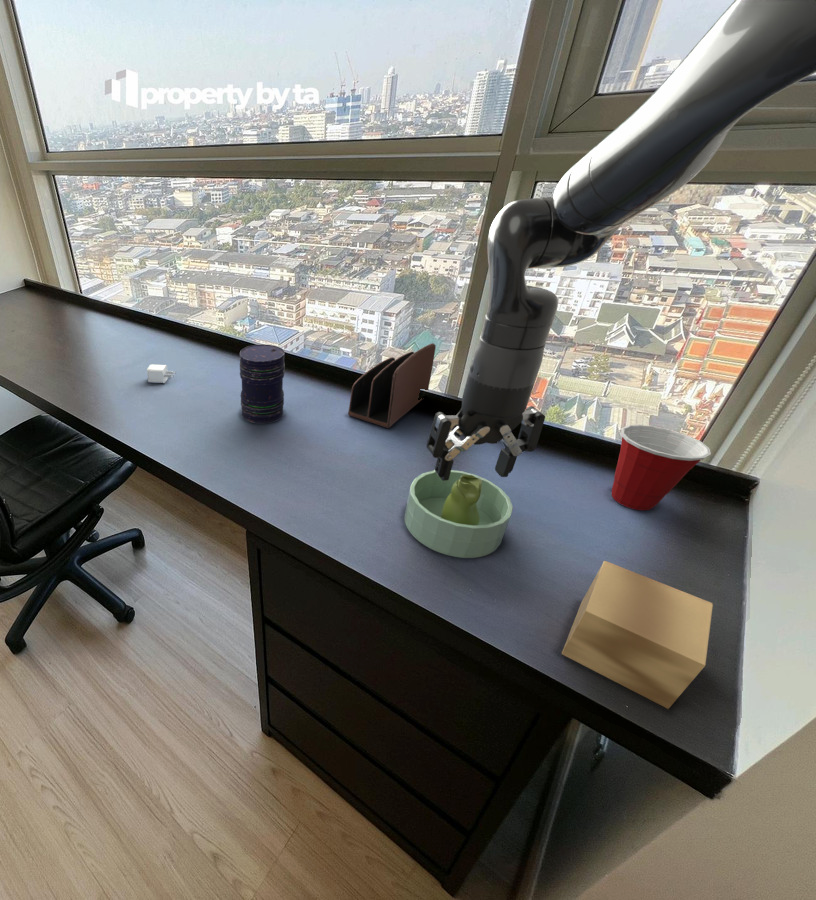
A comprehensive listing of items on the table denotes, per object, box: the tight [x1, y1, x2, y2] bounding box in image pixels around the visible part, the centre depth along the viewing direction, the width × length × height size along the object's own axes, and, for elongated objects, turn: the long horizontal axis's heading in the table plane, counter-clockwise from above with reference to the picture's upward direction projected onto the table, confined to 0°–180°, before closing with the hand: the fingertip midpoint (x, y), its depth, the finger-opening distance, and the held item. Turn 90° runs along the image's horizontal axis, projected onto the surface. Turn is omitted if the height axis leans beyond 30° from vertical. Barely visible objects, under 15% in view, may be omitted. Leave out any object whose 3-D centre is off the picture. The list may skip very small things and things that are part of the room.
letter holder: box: [347, 343, 437, 429], centre depth 107 cm, size 10×20×14 cm, turn 137°
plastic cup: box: [611, 423, 712, 511], centre depth 77 cm, size 11×11×12 cm
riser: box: [561, 560, 714, 710], centre depth 55 cm, size 10×10×8 cm
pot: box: [404, 469, 514, 559], centre depth 75 cm, size 14×14×6 cm
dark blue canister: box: [239, 343, 286, 425], centre depth 108 cm, size 10×10×15 cm
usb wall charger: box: [146, 364, 177, 384], centre depth 129 cm, size 4×7×4 cm, turn 78°
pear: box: [441, 475, 482, 526], centre depth 73 cm, size 6×5×10 cm
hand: (471, 475), depth 70 cm, fingers open, 8 cm apart
